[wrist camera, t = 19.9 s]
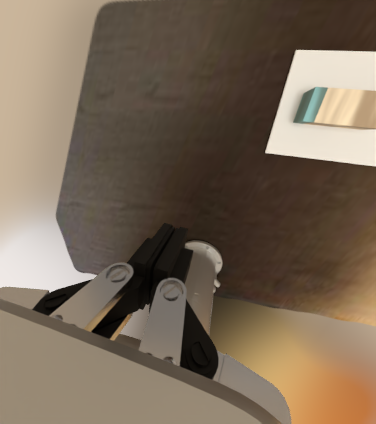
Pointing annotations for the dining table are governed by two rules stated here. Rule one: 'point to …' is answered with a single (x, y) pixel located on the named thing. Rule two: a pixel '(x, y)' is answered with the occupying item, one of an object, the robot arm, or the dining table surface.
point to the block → (338, 108)
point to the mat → (314, 134)
